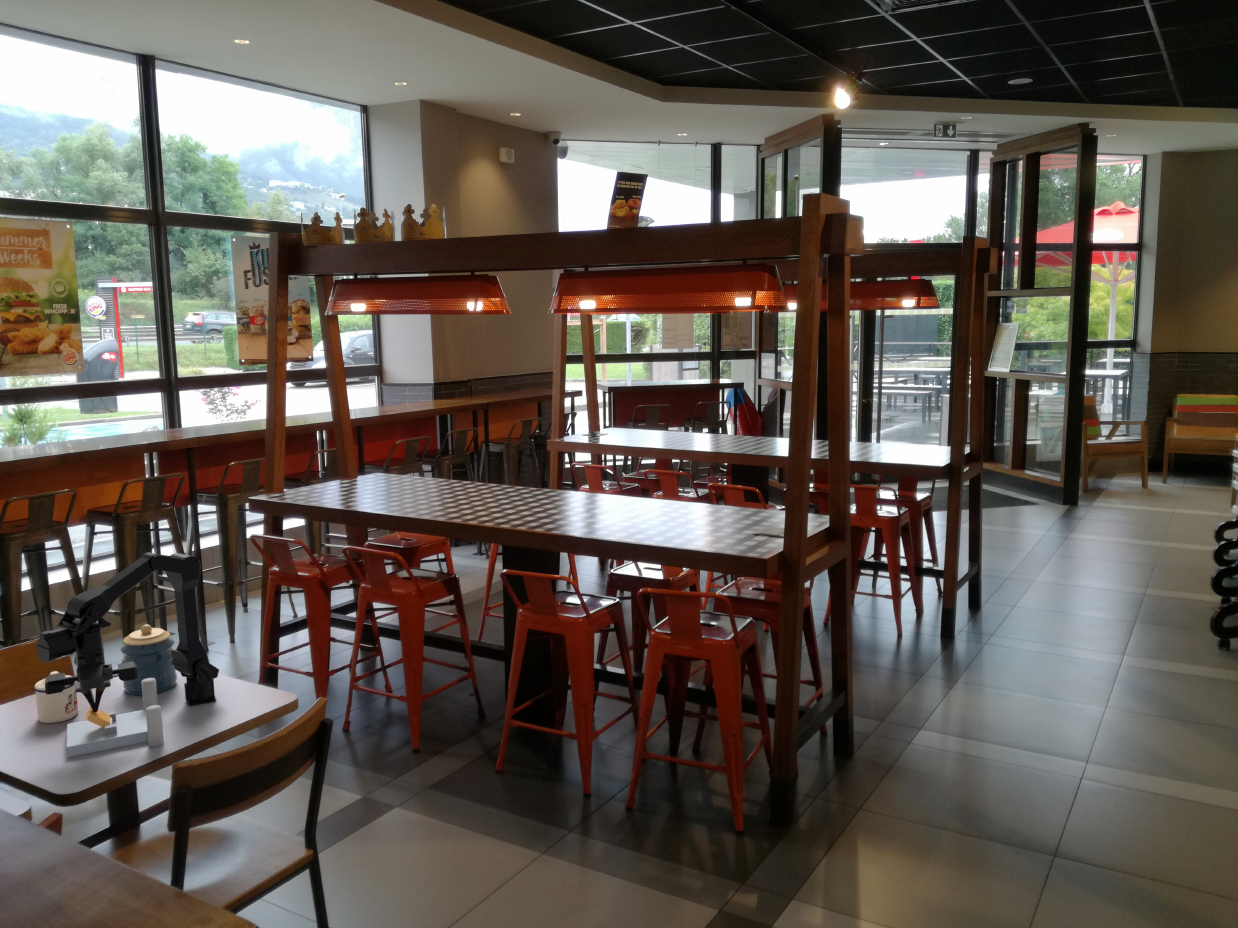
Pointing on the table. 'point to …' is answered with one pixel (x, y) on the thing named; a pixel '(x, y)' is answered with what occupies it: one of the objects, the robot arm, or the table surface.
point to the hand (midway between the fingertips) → (95, 711)
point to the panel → (97, 737)
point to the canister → (149, 658)
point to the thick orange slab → (98, 718)
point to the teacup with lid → (55, 703)
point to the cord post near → (154, 725)
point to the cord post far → (149, 692)
